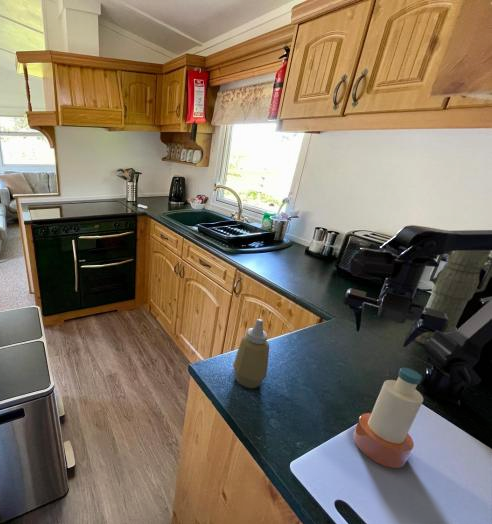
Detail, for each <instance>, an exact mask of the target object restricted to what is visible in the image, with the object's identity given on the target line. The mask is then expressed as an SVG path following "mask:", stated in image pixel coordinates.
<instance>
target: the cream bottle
mask: <svg viewBox="0 0 492 524" xmlns="http://www.w3.org/2000/svg"><path fill="white" fill-rule="evenodd" d="M397 376H398V377H397V379H396V380H395V379H387V380H385V381H384V382H383V384H382V386H381V389H380V391H379V394H378V396H377V398H376V401H375V403H374V406H373V407H372V411H371V412H370V413H371V416H370V418H369V421H368V425H369V427H370V429H371V430H372V431H373V432H374V433H375V434H376V435H377V436H379V437H380V438H382V439H383V440H385V441H388V442H391V443H395V444H400V443H403V442H404V440H405V438H406V436H407V433H408V434H409V431H410V429H411V427H412V425H413V423H414V421H415V419H416V417H417V415H418V413H419V410H420V408H421V407H422V405H423V402H424V397H423V395H422V394H421V392H420V391H418V390H417V386H418V385H420V384H421V379H422V377H423V375H422V374H420V373H419V372H417V371H416V370H414V369H411V368H408V367H401V368H400V369H399V371H398V373H397Z"/></svg>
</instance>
